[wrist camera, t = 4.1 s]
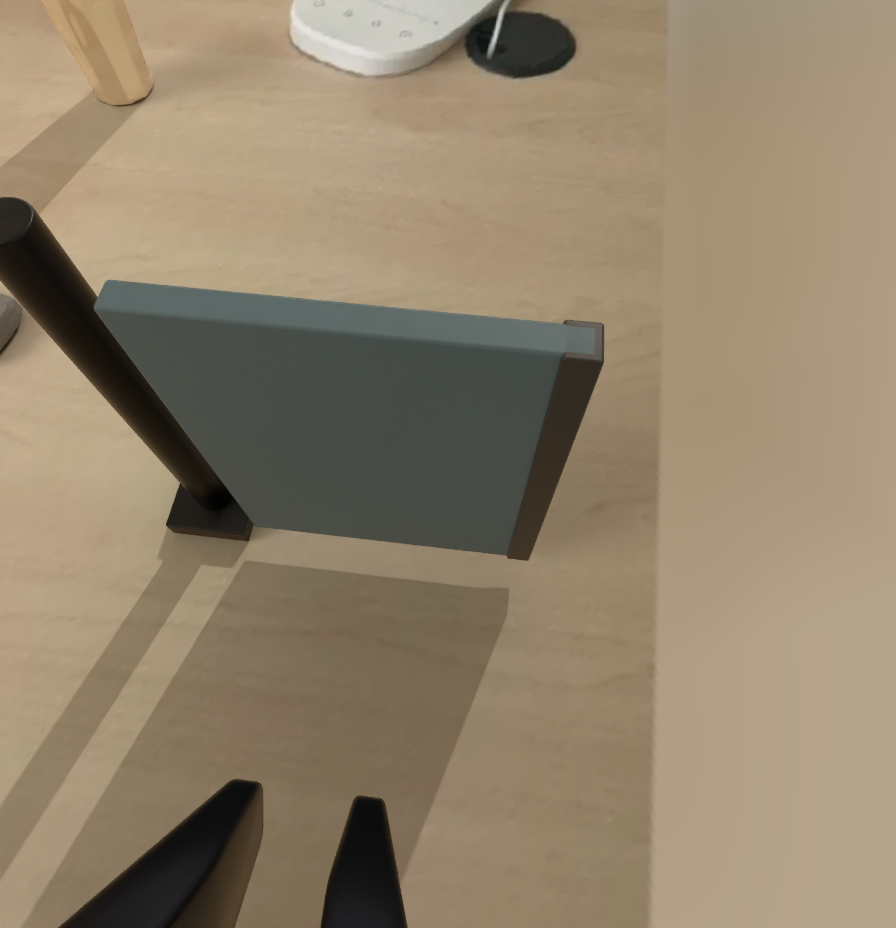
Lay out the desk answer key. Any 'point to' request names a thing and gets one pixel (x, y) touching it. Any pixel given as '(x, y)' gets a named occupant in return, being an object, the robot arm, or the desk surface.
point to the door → (367, 409)
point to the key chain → (8, 318)
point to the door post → (110, 368)
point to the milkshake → (103, 47)
